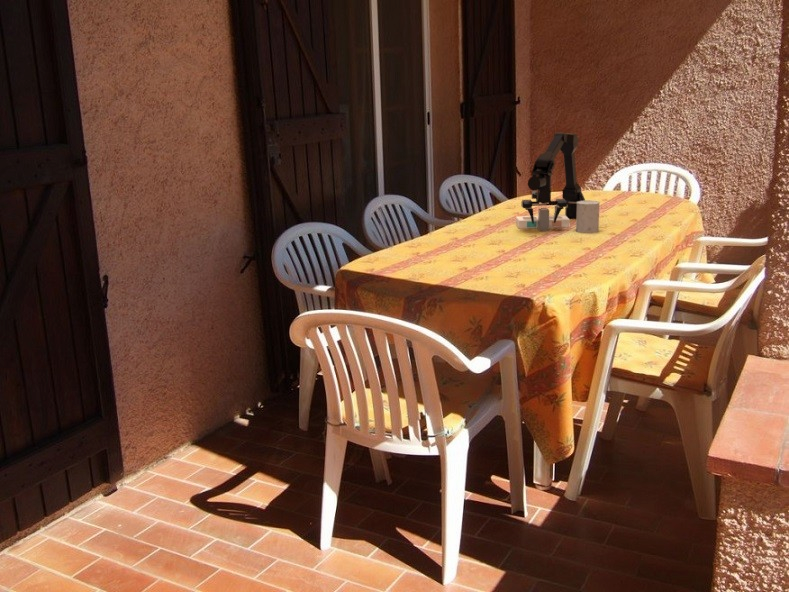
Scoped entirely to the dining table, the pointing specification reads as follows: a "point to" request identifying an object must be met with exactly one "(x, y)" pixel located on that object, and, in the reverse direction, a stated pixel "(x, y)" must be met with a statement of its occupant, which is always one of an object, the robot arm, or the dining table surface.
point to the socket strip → (527, 223)
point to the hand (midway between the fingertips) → (543, 223)
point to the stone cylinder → (587, 216)
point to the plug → (543, 219)
